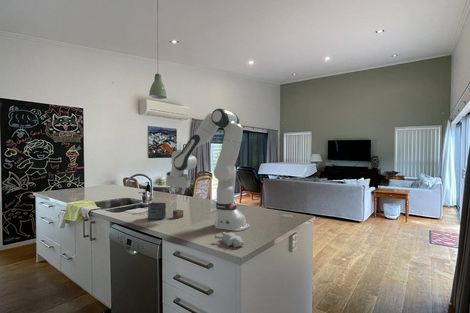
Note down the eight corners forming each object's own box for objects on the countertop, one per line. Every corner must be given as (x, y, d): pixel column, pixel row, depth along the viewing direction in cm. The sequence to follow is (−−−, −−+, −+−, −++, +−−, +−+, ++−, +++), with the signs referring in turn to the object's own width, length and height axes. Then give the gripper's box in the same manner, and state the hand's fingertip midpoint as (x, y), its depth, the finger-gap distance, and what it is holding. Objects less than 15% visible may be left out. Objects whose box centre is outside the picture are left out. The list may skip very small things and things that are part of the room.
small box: (166, 217, 186) (166, 202, 186) (162, 219, 179) (162, 204, 179) (151, 217, 187) (151, 202, 187) (147, 219, 180) (147, 204, 180)
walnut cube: (183, 217, 186) (183, 210, 186) (178, 218, 182) (178, 211, 182) (178, 216, 189) (178, 209, 189) (172, 217, 185) (172, 210, 185)
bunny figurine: (235, 242, 125) (212, 231, 135) (234, 252, 126) (212, 241, 135) (247, 236, 132) (225, 227, 142) (246, 246, 133) (224, 236, 142)
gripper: (192, 174, 182) (192, 194, 182) (171, 172, 193) (171, 191, 194) (185, 174, 177) (185, 195, 177) (164, 172, 188) (164, 192, 189)
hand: (177, 193), depth 185 cm, fingers open, 8 cm apart
